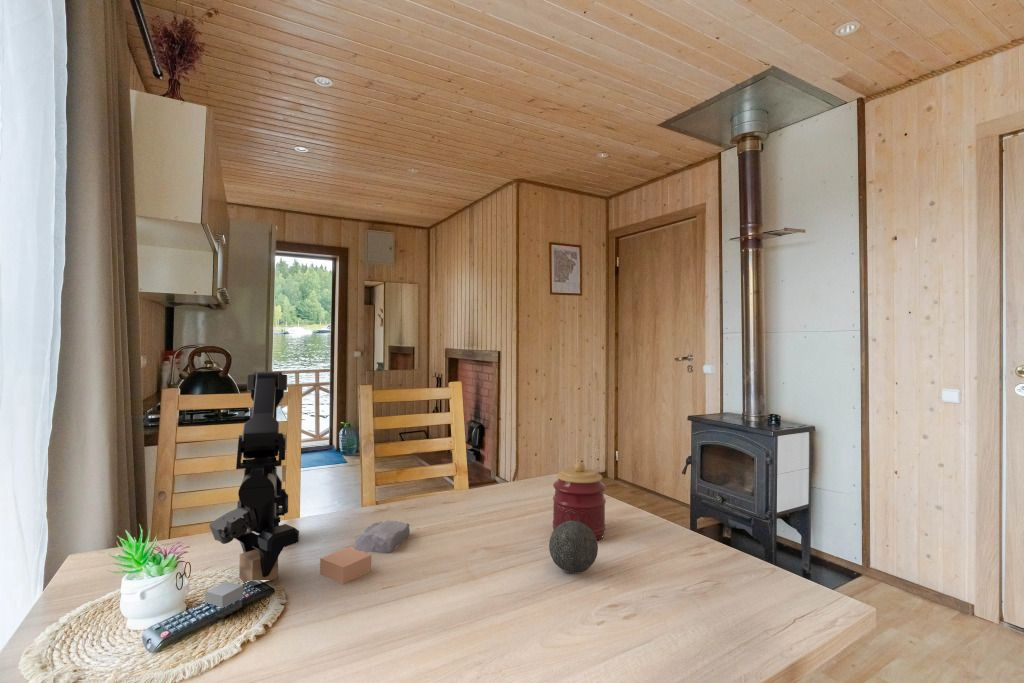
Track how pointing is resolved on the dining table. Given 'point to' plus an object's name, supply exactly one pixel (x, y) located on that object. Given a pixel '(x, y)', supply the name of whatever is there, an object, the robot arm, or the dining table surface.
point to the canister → (580, 498)
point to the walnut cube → (254, 567)
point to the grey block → (224, 594)
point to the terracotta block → (345, 565)
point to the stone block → (382, 536)
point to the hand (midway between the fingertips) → (258, 572)
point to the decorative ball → (573, 546)
